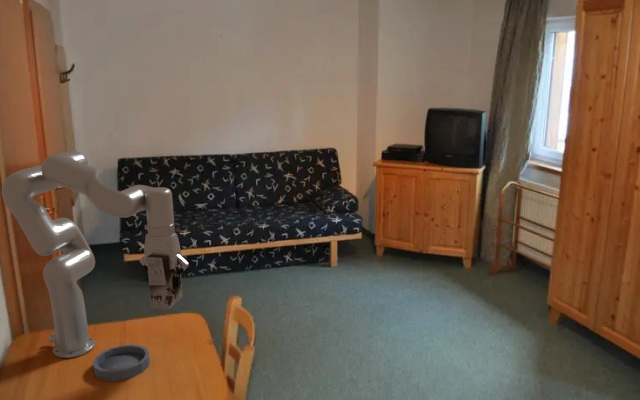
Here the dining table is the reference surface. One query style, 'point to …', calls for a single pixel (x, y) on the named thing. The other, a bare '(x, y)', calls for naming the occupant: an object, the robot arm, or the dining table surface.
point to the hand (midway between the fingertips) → (165, 286)
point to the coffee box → (162, 283)
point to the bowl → (121, 362)
